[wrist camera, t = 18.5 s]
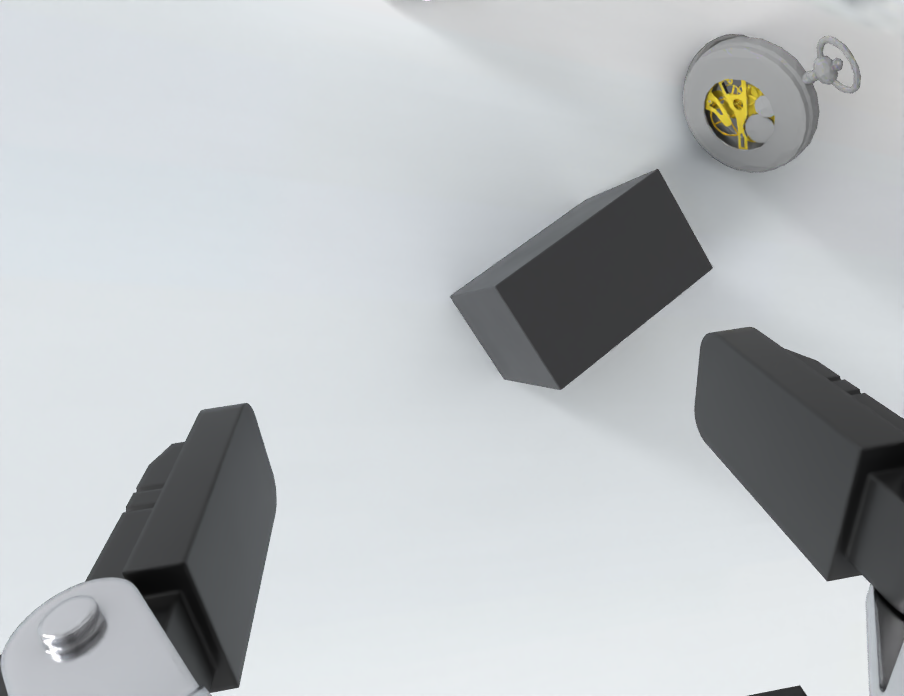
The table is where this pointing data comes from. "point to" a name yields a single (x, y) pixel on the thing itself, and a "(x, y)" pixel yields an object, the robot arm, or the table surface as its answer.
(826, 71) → the pocket watch
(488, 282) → the dark grey rectangular block
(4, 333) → the table surface
